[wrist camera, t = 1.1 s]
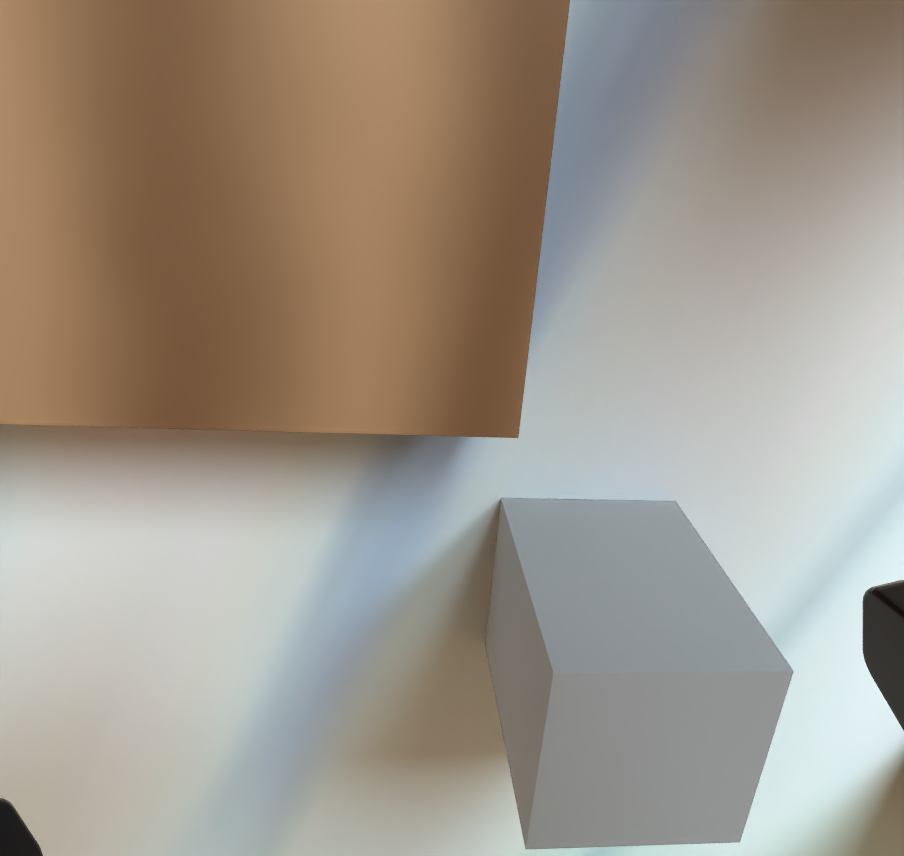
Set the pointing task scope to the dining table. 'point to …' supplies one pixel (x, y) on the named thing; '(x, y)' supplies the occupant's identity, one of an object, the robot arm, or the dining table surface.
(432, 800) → the dining table surface
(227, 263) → the brown block
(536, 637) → the grey block
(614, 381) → the dining table surface
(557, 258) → the dining table surface
